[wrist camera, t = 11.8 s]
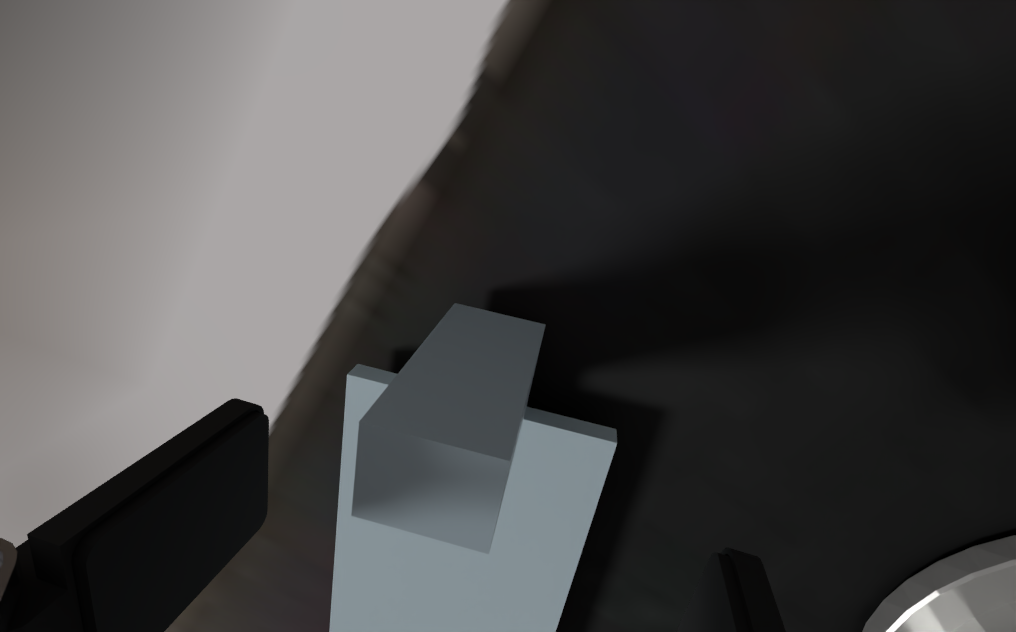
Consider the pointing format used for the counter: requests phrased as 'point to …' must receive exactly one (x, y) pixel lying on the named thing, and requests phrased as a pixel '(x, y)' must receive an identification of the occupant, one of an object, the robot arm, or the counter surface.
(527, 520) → the lid
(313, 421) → the counter surface
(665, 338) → the counter surface
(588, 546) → the counter surface
